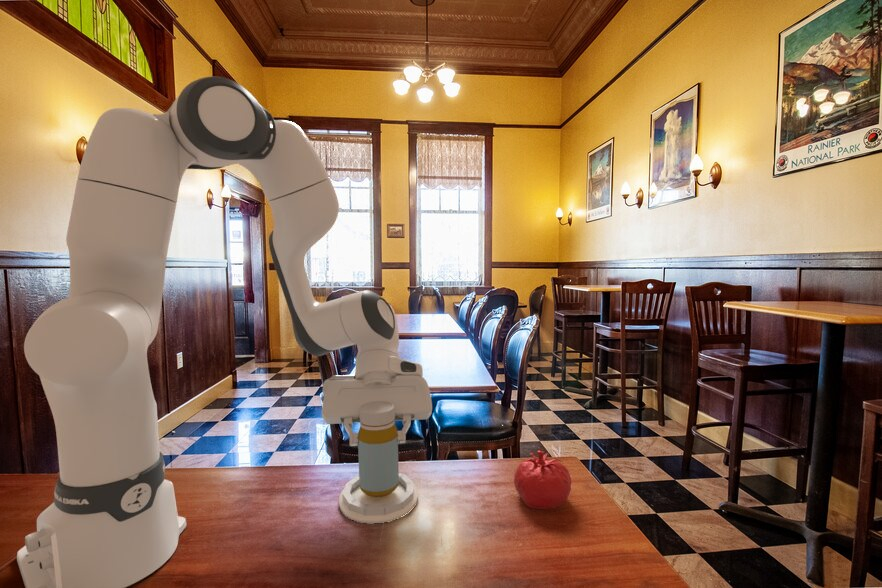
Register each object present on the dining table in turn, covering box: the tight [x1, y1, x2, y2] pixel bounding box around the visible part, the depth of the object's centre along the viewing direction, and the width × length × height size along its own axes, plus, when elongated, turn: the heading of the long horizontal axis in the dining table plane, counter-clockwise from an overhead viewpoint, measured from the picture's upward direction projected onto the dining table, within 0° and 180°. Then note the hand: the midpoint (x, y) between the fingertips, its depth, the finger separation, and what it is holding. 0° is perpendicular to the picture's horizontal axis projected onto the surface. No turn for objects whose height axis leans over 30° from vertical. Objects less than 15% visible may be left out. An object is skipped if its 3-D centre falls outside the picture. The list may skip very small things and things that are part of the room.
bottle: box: [357, 401, 400, 497], centre depth 75 cm, size 7×7×15 cm
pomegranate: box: [513, 450, 572, 510], centre depth 76 cm, size 10×10×9 cm
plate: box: [338, 472, 419, 525], centre depth 76 cm, size 14×14×2 cm
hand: (377, 443), depth 74 cm, fingers closed on bottle, 7 cm apart
